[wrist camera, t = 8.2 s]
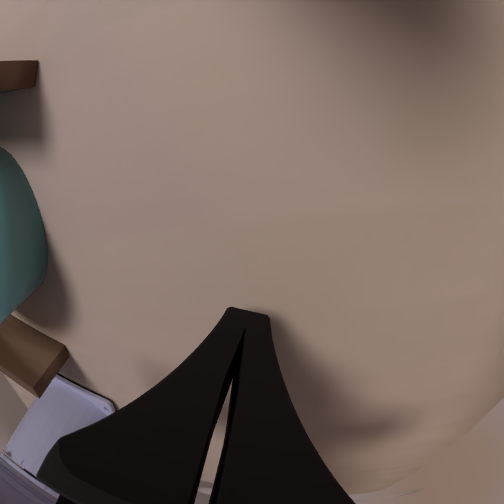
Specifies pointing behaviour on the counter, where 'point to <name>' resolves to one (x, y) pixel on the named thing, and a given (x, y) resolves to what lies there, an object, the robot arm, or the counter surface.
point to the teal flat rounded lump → (19, 237)
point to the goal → (11, 329)
